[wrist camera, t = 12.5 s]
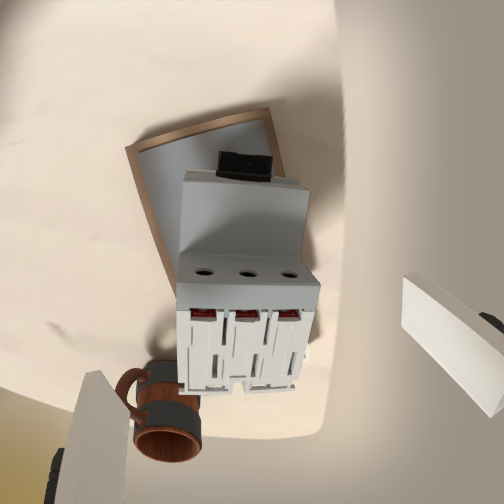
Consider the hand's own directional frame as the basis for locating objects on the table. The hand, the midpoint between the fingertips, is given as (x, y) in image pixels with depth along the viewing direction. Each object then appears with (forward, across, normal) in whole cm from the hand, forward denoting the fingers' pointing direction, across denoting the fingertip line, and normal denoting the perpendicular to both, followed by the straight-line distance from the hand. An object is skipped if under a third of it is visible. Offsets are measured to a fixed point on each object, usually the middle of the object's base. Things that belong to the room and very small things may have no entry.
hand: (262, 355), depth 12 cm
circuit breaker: (+20, 0, 0) cm, 20 cm away
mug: (+23, -13, -18) cm, 32 cm away
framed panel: (+22, +1, 0) cm, 22 cm away
